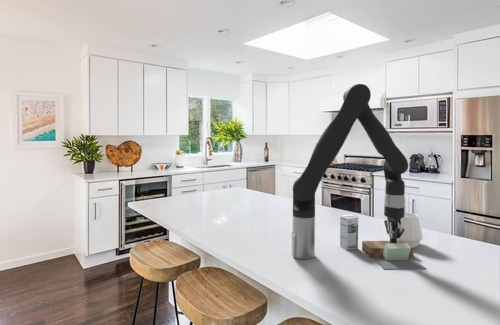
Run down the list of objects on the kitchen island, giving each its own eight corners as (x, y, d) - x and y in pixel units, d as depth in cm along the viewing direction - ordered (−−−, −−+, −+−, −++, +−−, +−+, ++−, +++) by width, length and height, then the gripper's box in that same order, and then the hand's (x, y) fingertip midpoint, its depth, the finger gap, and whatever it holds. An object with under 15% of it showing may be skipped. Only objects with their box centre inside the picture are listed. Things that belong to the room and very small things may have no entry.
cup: (389, 246, 144) (390, 216, 143) (391, 237, 156) (392, 209, 154) (422, 251, 138) (423, 219, 136) (422, 241, 149) (423, 212, 148)
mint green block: (382, 254, 130) (385, 260, 127) (385, 243, 127) (388, 248, 124) (404, 254, 130) (407, 259, 127) (407, 243, 127) (410, 248, 125)
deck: (369, 257, 131) (370, 248, 130) (362, 249, 139) (362, 240, 139) (413, 257, 131) (413, 247, 130) (402, 249, 140) (402, 240, 139)
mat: (384, 269, 119) (384, 268, 119) (372, 258, 130) (372, 257, 130) (426, 269, 119) (426, 268, 119) (411, 257, 130) (411, 257, 130)
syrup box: (346, 250, 139) (347, 218, 138) (339, 245, 145) (340, 214, 143) (358, 249, 140) (358, 217, 139) (350, 244, 146) (351, 214, 145)
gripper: (378, 201, 134) (377, 241, 136) (392, 208, 121) (391, 252, 123) (395, 201, 134) (394, 241, 136) (412, 208, 121) (410, 252, 123)
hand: (393, 246), depth 129 cm, fingers closed
